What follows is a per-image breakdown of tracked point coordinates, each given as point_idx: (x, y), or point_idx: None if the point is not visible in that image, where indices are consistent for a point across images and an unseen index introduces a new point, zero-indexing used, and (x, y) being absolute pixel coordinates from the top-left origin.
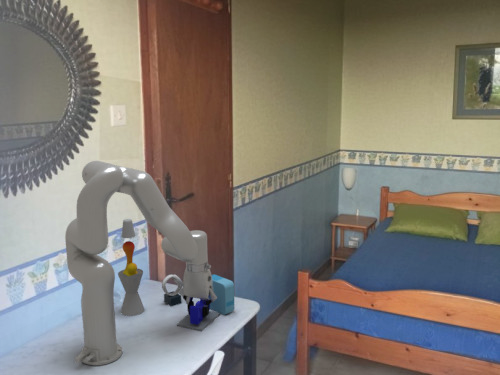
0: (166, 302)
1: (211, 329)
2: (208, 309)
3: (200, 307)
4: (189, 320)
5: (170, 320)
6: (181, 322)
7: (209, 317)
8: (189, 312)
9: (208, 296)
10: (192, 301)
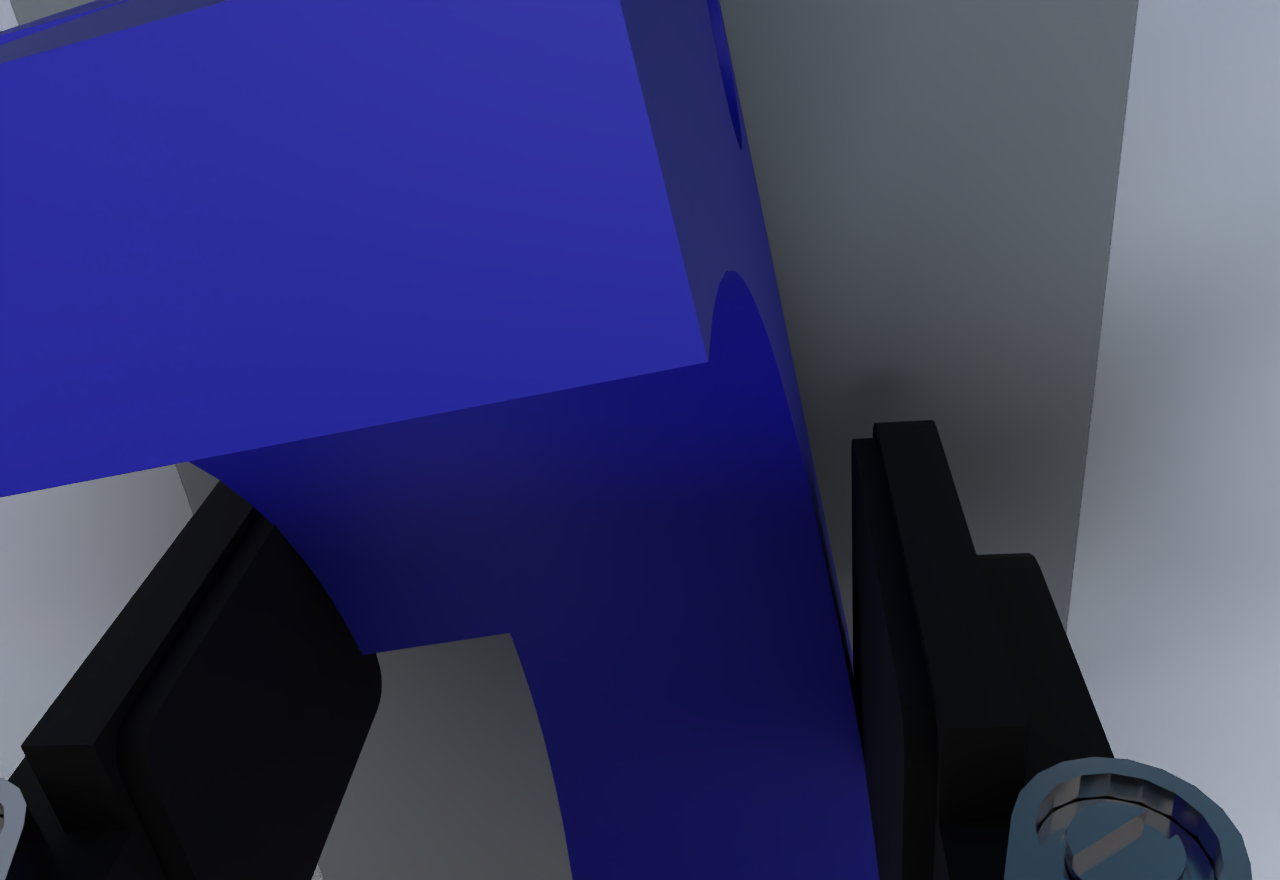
0: None
1: (1235, 724)
2: (1067, 686)
3: (488, 439)
4: (457, 661)
5: (11, 721)
6: (360, 801)
7: (915, 272)
8: (344, 761)
9: (687, 224)
10: (115, 865)
